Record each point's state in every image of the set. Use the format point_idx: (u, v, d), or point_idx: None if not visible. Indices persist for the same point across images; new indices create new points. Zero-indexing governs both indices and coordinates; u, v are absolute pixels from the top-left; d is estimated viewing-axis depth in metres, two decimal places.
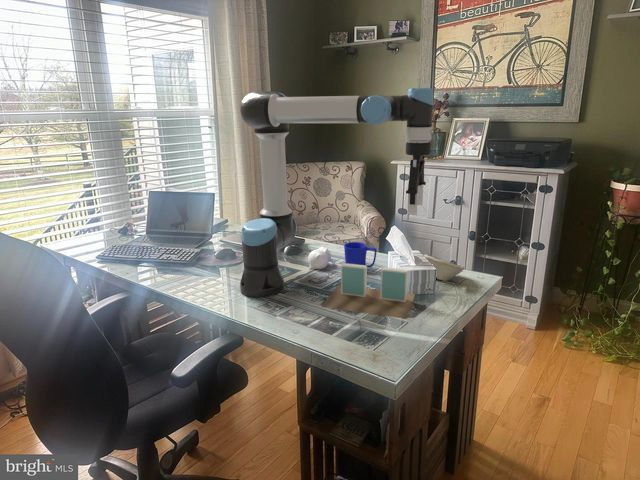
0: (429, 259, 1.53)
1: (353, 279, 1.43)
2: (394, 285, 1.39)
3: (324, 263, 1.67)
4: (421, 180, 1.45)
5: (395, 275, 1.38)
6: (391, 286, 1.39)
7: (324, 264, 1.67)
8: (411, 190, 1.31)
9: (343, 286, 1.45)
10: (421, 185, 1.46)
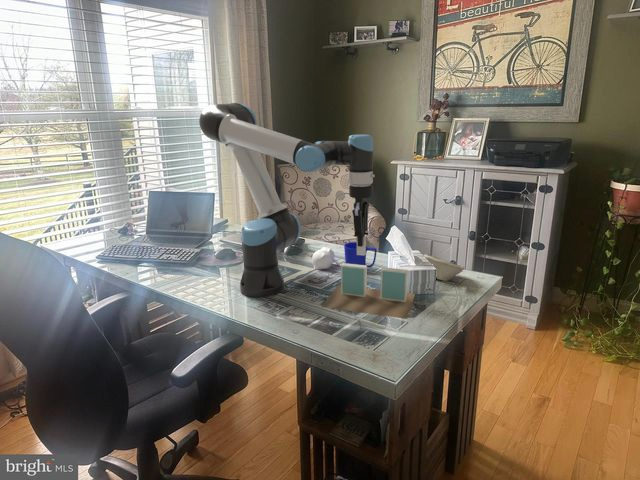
0: (429, 259, 1.53)
1: (353, 279, 1.43)
2: (394, 285, 1.39)
3: (329, 263, 1.67)
4: (364, 227, 1.47)
5: (395, 275, 1.38)
6: (391, 286, 1.39)
7: (329, 264, 1.67)
8: (358, 234, 1.44)
9: (343, 286, 1.45)
10: (363, 235, 1.47)
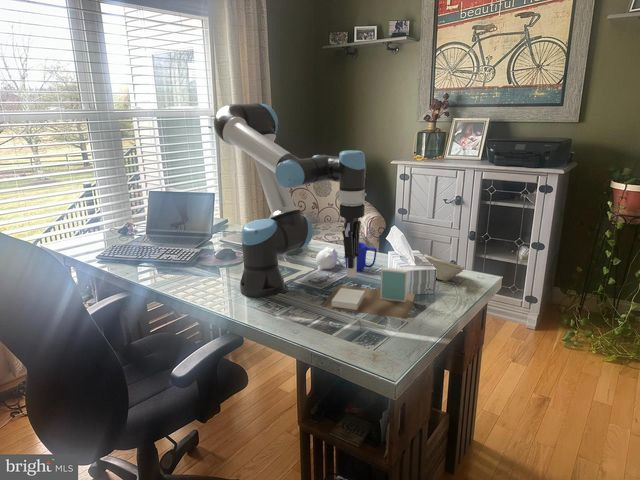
0: (429, 259, 1.53)
1: None
2: (394, 285, 1.39)
3: (333, 263, 1.67)
4: (354, 248, 1.38)
5: (395, 275, 1.38)
6: (391, 286, 1.39)
7: (333, 264, 1.67)
8: (348, 256, 1.35)
9: None
10: (354, 256, 1.39)
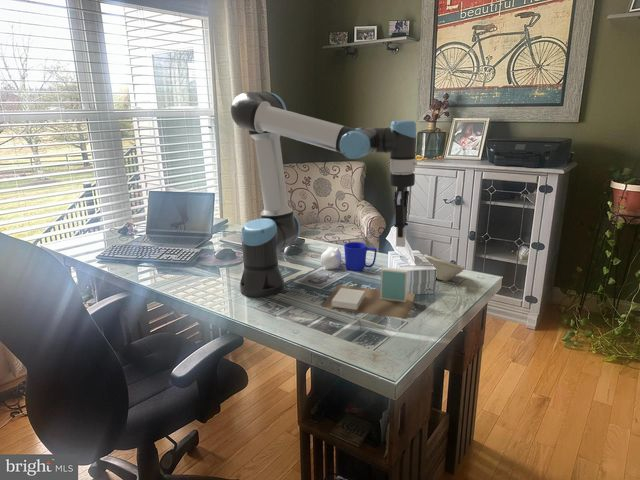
0: (429, 259, 1.53)
1: None
2: (394, 285, 1.39)
3: (338, 263, 1.67)
4: (404, 217, 1.41)
5: (395, 275, 1.38)
6: (391, 286, 1.39)
7: (338, 264, 1.67)
8: (398, 224, 1.38)
9: None
10: None
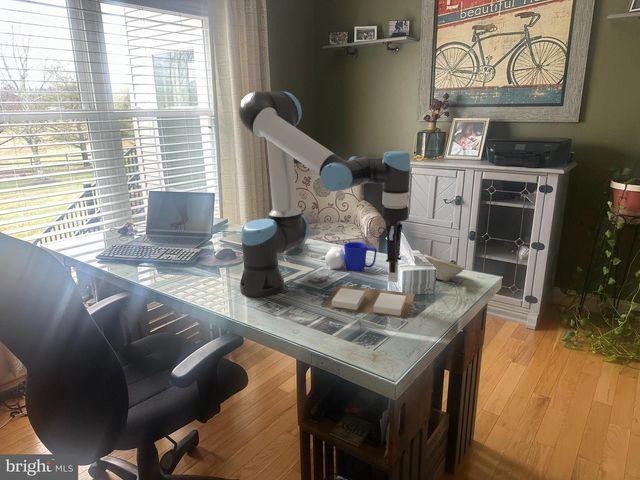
0: (429, 259, 1.53)
1: None
2: None
3: (343, 262, 1.67)
4: None
5: None
6: None
7: (343, 263, 1.68)
8: (391, 260, 1.31)
9: None
10: None
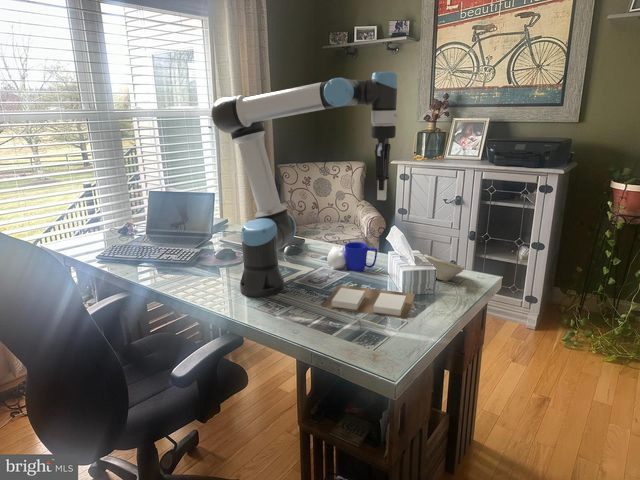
0: (429, 259, 1.53)
1: None
2: None
3: None
4: None
5: None
6: None
7: None
8: (379, 176, 1.40)
9: None
10: (384, 179, 1.44)
